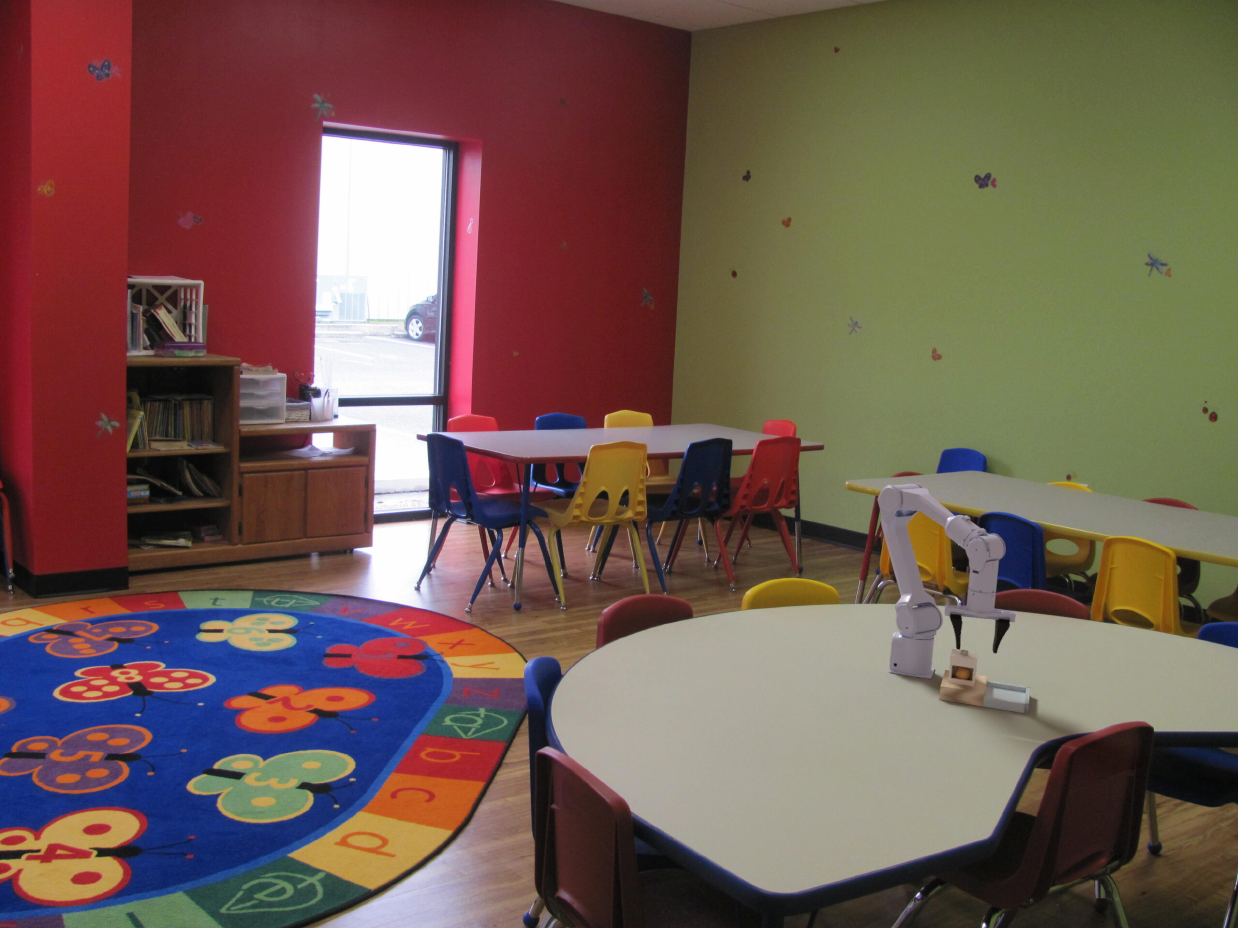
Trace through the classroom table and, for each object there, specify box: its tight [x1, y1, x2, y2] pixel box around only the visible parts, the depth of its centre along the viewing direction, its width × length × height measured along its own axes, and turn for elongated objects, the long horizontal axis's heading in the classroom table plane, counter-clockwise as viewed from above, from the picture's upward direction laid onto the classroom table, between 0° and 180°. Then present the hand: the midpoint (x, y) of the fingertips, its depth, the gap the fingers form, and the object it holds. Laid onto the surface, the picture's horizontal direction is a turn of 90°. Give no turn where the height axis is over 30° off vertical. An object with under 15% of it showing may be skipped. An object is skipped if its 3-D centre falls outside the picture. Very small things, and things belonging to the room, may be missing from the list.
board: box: [938, 669, 988, 707], centre depth 238 cm, size 9×12×3 cm
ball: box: [955, 667, 970, 680], centre depth 237 cm, size 3×3×3 cm
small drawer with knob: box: [948, 648, 979, 686], centre depth 237 cm, size 5×5×7 cm
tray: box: [982, 680, 1031, 715], centre depth 234 cm, size 9×12×2 cm
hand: (976, 650), depth 237 cm, fingers open, 7 cm apart
